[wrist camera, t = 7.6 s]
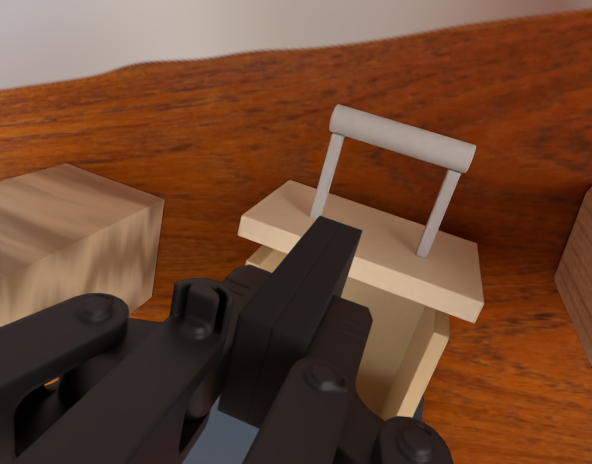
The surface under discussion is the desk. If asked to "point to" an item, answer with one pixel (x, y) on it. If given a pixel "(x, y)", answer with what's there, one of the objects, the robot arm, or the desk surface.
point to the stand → (74, 240)
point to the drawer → (385, 259)
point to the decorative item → (579, 275)
